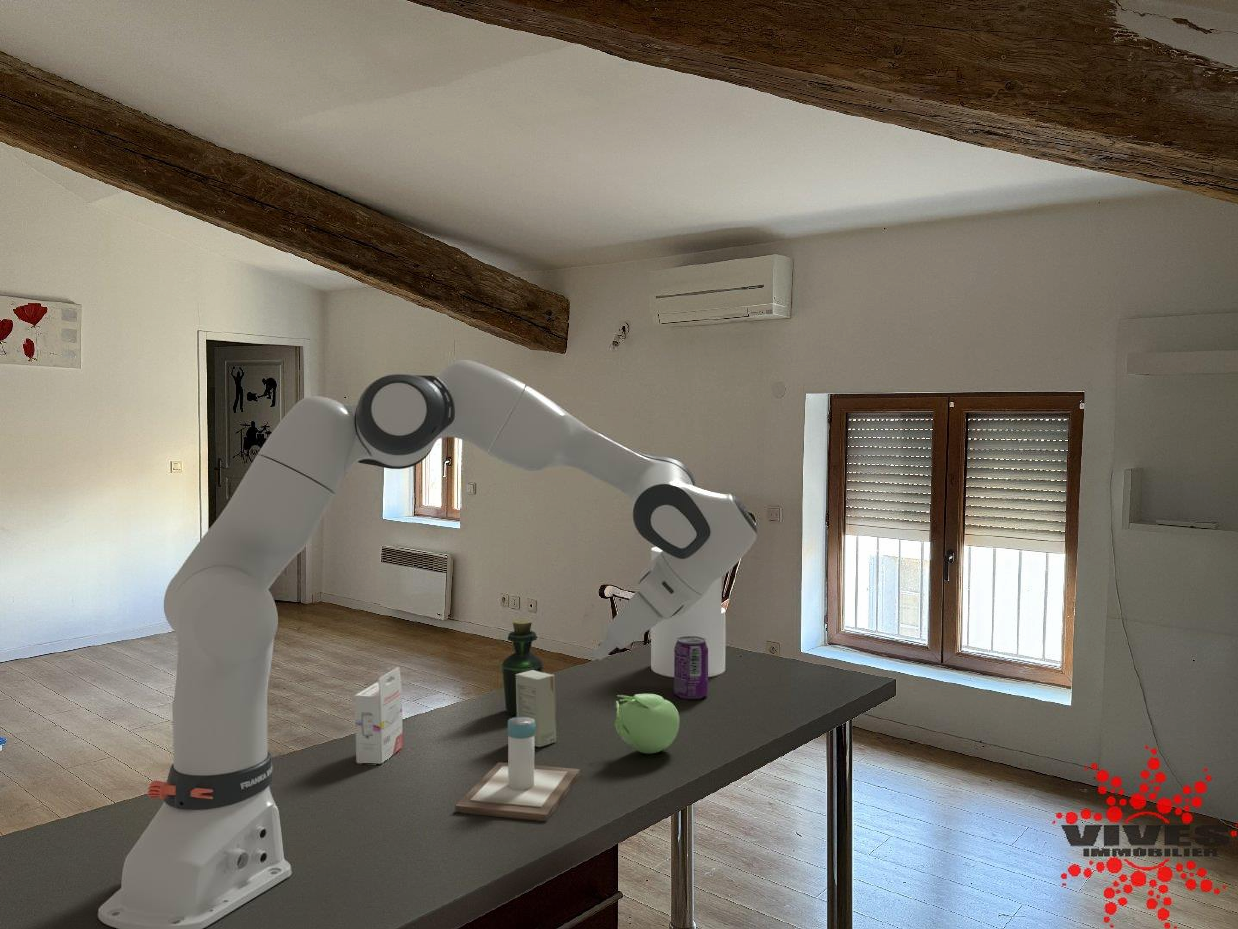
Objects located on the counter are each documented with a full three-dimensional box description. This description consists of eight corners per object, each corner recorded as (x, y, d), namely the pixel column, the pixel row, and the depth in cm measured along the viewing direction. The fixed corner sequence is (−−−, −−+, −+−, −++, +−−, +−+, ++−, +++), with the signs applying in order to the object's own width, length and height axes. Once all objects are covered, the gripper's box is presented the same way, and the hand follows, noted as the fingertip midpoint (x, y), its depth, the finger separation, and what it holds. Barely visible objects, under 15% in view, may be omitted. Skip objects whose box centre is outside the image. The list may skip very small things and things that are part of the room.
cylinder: (703, 682, 205) (703, 556, 204) (637, 671, 215) (637, 550, 214) (737, 665, 220) (738, 547, 219) (674, 655, 229) (674, 542, 228)
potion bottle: (533, 719, 179) (533, 627, 178) (495, 715, 182) (494, 624, 181) (549, 707, 187) (549, 618, 186) (512, 703, 189) (512, 616, 189)
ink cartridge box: (377, 746, 164) (376, 664, 164) (403, 748, 163) (402, 665, 163) (354, 763, 156) (353, 677, 155) (381, 766, 155) (380, 678, 154)
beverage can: (713, 694, 196) (714, 638, 196) (698, 703, 190) (698, 644, 190) (684, 689, 200) (684, 634, 199) (668, 697, 194) (668, 640, 193)
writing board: (546, 821, 133) (546, 813, 133) (455, 812, 136) (455, 804, 136) (579, 775, 151) (579, 768, 151) (498, 768, 154) (498, 761, 154)
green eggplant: (631, 738, 169) (631, 678, 168) (687, 749, 163) (687, 687, 163) (597, 759, 158) (597, 695, 158) (655, 771, 153) (655, 705, 152)
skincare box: (557, 742, 166) (557, 675, 166) (539, 748, 163) (538, 679, 163) (533, 734, 171) (532, 668, 170) (515, 740, 168) (514, 673, 167)
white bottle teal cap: (529, 791, 141) (530, 726, 141) (503, 789, 142) (503, 724, 141) (538, 781, 145) (538, 718, 145) (512, 779, 146) (513, 716, 146)
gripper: (666, 560, 147) (607, 618, 150) (640, 581, 128) (572, 648, 130) (694, 589, 147) (634, 647, 149) (672, 615, 127) (603, 681, 129)
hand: (604, 648), depth 140 cm, fingers open, 8 cm apart
